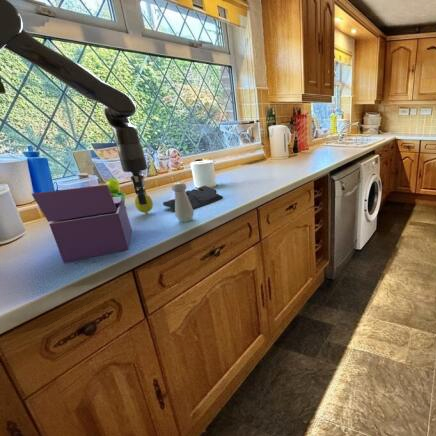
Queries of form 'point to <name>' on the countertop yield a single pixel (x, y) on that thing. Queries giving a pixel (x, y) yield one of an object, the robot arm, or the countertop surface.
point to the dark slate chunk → (198, 197)
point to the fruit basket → (115, 188)
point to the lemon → (144, 207)
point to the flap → (75, 202)
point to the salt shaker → (182, 203)
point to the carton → (93, 234)
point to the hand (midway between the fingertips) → (143, 201)
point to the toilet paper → (203, 173)
